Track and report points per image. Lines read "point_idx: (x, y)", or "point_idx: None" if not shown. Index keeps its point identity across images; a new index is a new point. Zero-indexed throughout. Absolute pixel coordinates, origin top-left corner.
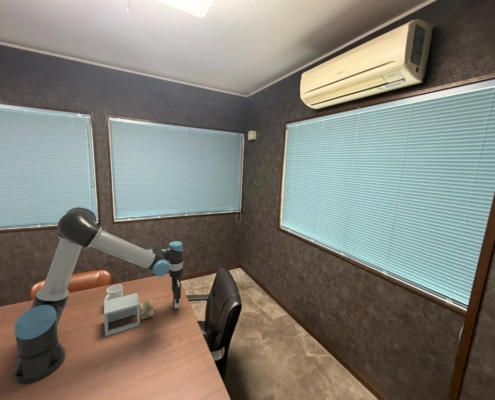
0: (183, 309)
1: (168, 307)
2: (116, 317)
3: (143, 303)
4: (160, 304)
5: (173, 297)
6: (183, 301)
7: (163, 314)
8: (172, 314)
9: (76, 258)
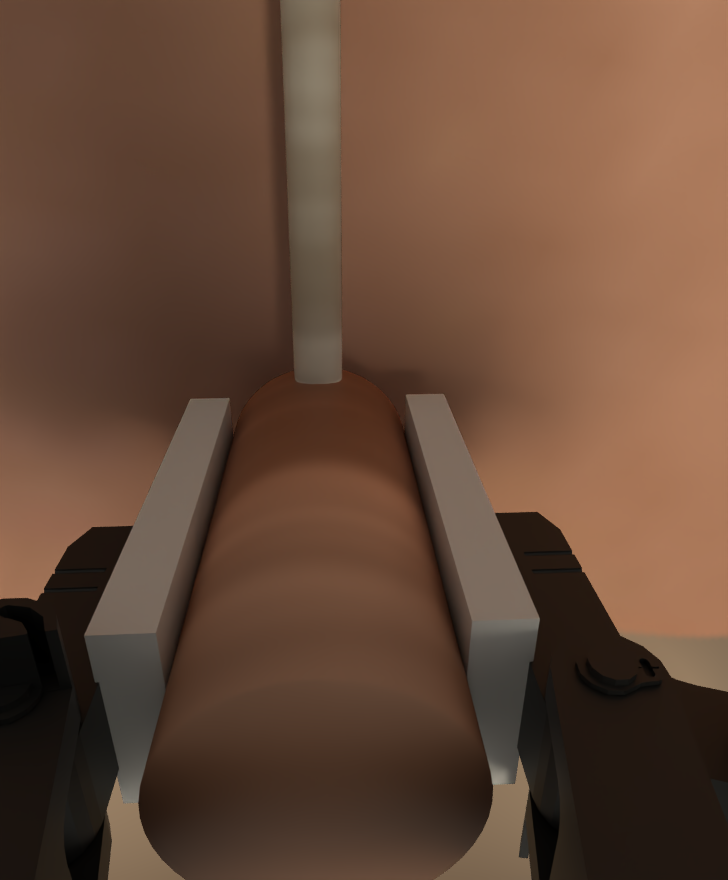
0: None
1: (292, 235)
2: None
3: None
4: (716, 40)
5: (247, 580)
6: None
7: (158, 25)
8: (67, 283)
9: None
